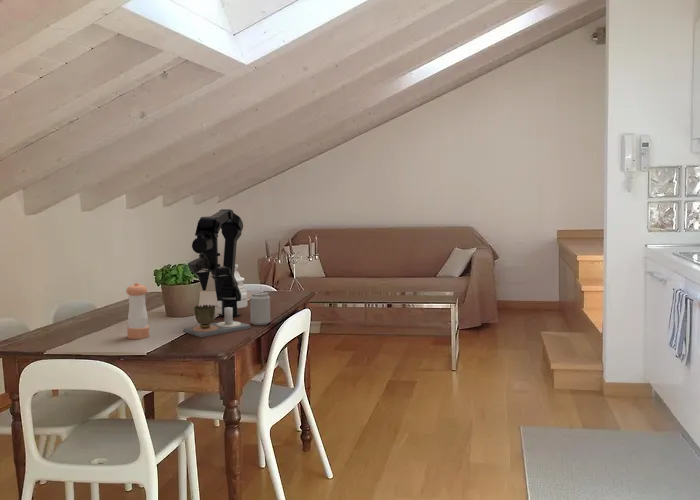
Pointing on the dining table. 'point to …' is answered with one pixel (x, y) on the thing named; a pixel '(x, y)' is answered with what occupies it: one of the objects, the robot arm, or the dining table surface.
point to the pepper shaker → (137, 312)
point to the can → (260, 308)
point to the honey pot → (242, 290)
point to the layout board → (218, 326)
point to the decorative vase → (204, 315)
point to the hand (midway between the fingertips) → (210, 292)
